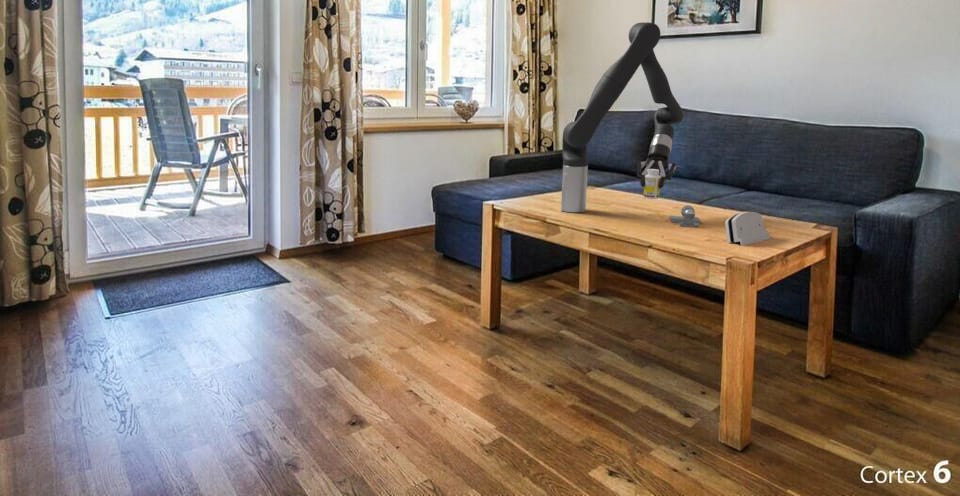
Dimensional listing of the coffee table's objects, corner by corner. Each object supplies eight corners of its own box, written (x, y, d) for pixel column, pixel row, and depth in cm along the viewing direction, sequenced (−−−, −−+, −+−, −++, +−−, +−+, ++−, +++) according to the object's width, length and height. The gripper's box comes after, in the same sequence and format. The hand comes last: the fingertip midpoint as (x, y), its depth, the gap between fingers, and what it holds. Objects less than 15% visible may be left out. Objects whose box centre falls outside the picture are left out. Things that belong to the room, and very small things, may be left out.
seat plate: (672, 222, 233) (672, 221, 233) (669, 216, 242) (669, 215, 242) (701, 223, 231) (701, 222, 231) (697, 217, 241) (697, 216, 241)
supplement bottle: (655, 196, 241) (657, 168, 239) (661, 199, 236) (664, 170, 233) (640, 196, 240) (643, 168, 238) (647, 199, 235) (649, 170, 232)
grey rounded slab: (741, 246, 202) (735, 213, 202) (728, 248, 205) (721, 216, 206) (771, 238, 211) (764, 207, 212) (757, 240, 215) (751, 210, 215)
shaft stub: (680, 226, 227) (681, 208, 225) (677, 222, 234) (679, 205, 232) (698, 227, 226) (700, 209, 225) (695, 223, 233) (697, 205, 231)
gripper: (639, 141, 243) (630, 178, 235) (680, 144, 237) (671, 181, 229) (641, 154, 249) (632, 190, 241) (680, 157, 243) (672, 194, 236)
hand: (651, 186), depth 235 cm, fingers closed on supplement bottle, 5 cm apart
